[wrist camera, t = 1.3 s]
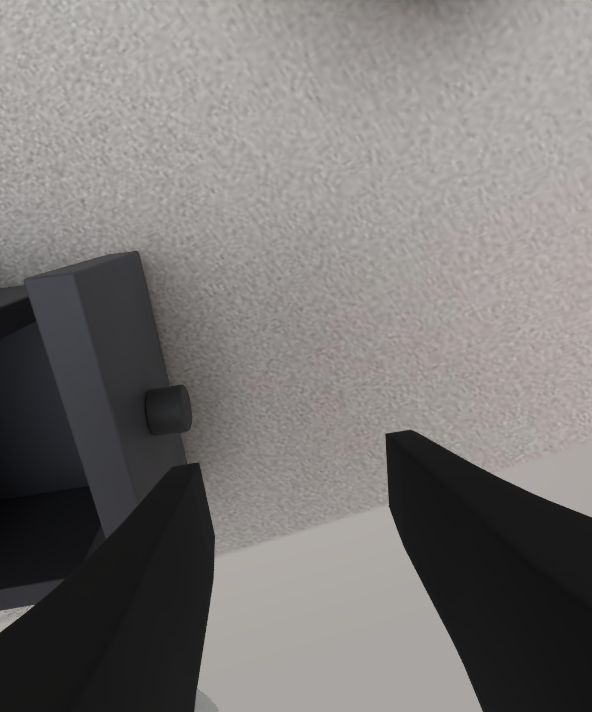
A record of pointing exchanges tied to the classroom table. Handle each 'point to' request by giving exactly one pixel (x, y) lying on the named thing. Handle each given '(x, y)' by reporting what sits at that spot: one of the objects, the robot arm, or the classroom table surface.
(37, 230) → the classroom table surface
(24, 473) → the drawer
